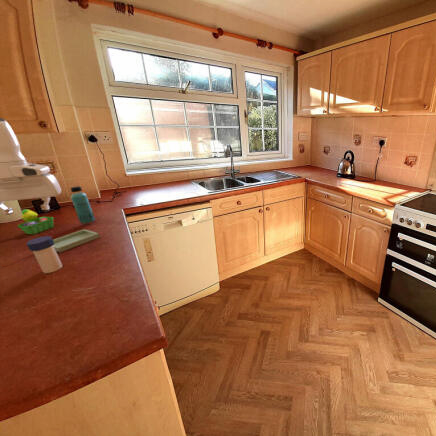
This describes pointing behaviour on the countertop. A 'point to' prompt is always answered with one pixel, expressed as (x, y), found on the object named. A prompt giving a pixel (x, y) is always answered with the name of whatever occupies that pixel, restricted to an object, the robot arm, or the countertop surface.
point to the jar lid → (40, 243)
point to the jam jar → (48, 259)
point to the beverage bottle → (82, 206)
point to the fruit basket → (34, 222)
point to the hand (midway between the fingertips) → (28, 212)
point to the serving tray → (74, 240)
